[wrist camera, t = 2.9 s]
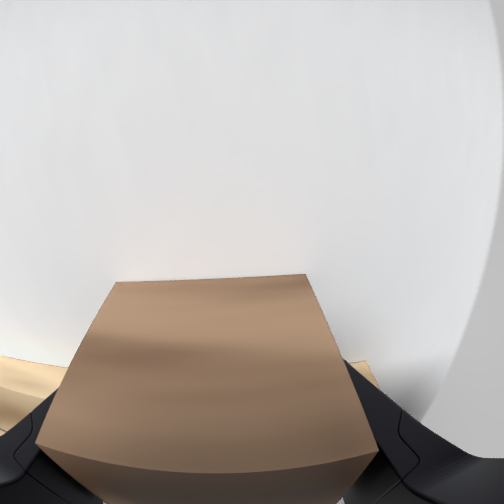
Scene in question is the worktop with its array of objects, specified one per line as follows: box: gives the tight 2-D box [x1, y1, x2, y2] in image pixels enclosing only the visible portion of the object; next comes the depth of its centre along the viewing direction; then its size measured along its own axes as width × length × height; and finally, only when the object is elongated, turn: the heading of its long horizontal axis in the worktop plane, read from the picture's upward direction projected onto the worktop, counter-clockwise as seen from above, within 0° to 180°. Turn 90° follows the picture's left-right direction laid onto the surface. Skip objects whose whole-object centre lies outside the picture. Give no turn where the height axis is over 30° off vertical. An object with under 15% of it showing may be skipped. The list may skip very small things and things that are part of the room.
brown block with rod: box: [35, 274, 379, 504], centre depth 8 cm, size 11×6×6 cm, turn 1°
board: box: [0, 356, 380, 435], centre depth 11 cm, size 7×26×2 cm, turn 91°
